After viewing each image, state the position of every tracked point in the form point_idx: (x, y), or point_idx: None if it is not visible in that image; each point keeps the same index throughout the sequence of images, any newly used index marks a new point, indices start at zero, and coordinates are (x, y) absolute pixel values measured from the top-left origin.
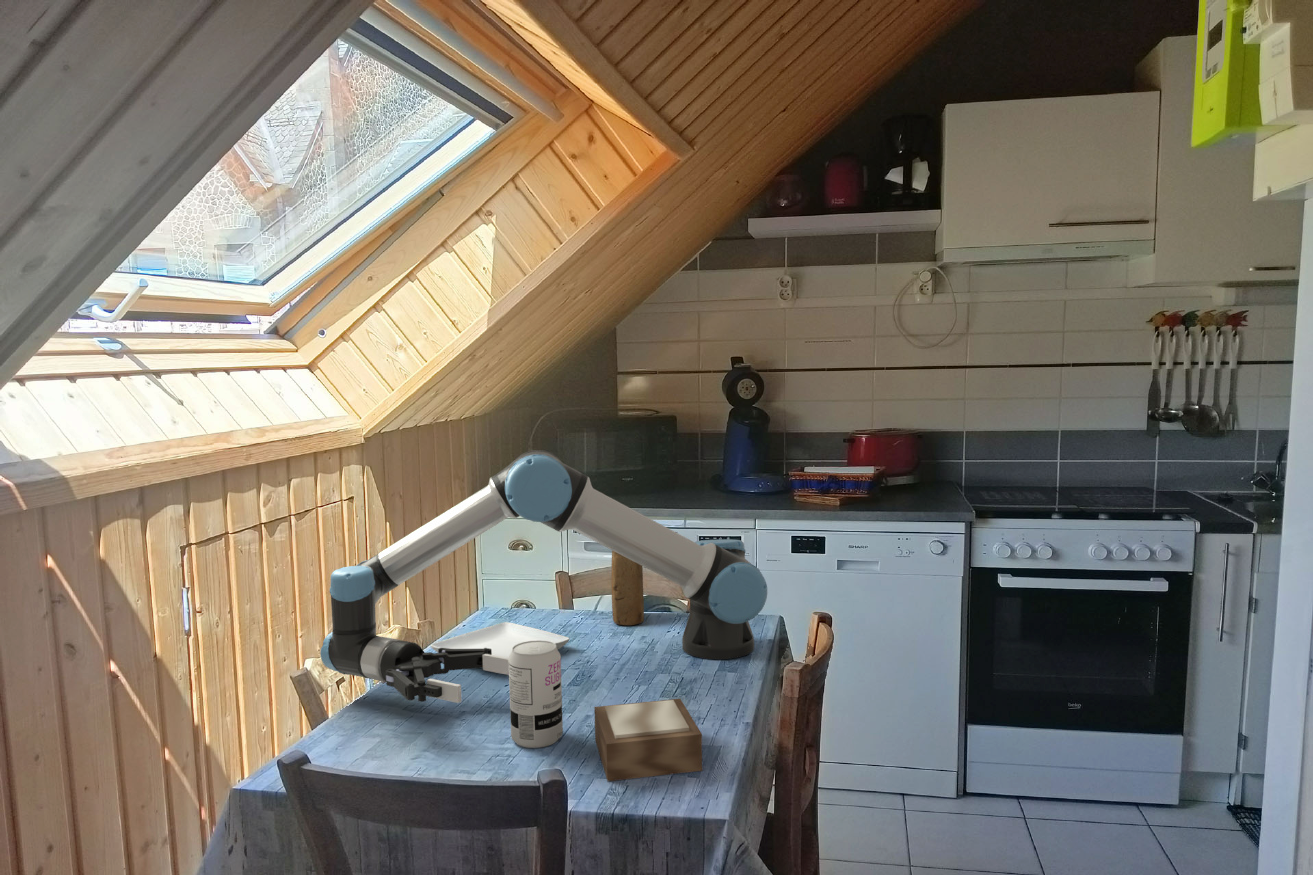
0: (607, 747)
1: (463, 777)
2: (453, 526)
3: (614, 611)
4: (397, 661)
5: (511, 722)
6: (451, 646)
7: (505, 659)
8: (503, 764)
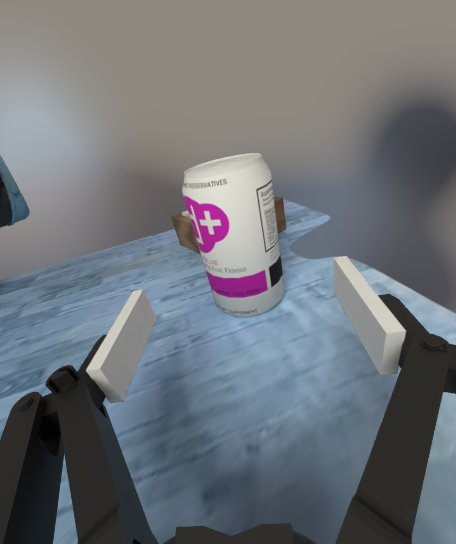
0: (282, 201)
1: (397, 284)
2: None
3: None
4: None
5: (277, 279)
6: None
7: (137, 302)
8: (331, 279)
